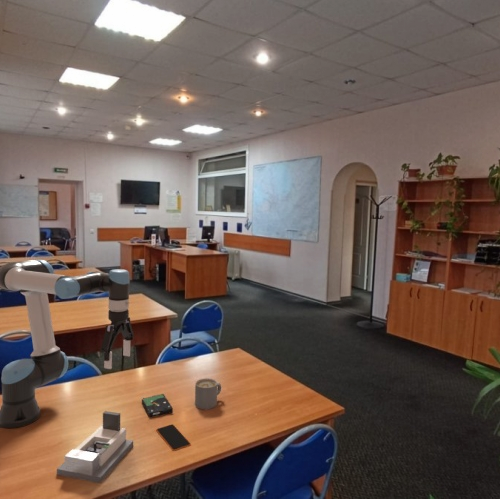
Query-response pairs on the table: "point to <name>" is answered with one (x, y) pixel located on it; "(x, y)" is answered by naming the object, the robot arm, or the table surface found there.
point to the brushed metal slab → (82, 462)
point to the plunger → (108, 428)
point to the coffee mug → (206, 393)
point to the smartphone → (173, 437)
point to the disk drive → (157, 405)
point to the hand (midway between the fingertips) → (117, 361)
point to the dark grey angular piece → (95, 447)
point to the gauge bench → (101, 468)
